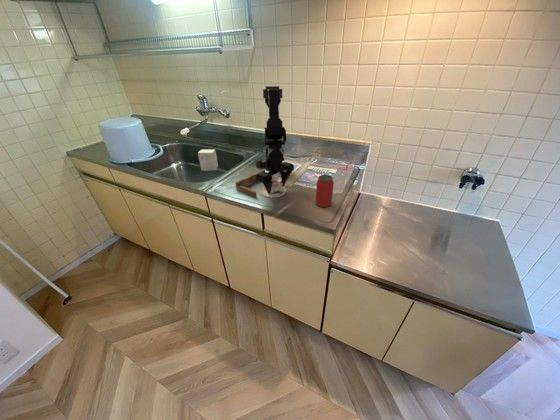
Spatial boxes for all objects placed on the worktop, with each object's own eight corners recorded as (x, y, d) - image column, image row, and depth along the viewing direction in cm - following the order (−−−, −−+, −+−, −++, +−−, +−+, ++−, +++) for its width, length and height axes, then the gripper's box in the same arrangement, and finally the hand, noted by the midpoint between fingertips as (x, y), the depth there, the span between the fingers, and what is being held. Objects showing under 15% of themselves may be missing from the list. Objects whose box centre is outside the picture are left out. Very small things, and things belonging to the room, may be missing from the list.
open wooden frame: (263, 176, 126) (263, 169, 124) (281, 183, 119) (281, 175, 117) (236, 189, 114) (235, 181, 112) (254, 197, 107) (253, 189, 105)
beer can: (313, 200, 105) (315, 174, 98) (328, 199, 105) (331, 173, 99) (317, 208, 99) (319, 181, 93) (333, 207, 100) (336, 180, 93)
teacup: (255, 196, 109) (254, 183, 106) (265, 184, 119) (264, 172, 115) (281, 200, 106) (281, 187, 102) (289, 187, 115) (289, 175, 112)
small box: (218, 167, 137) (215, 149, 131) (215, 171, 132) (212, 152, 127) (204, 167, 138) (201, 149, 132) (201, 171, 133) (197, 152, 127)
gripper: (275, 146, 111) (276, 178, 119) (245, 157, 99) (248, 191, 107) (295, 151, 105) (294, 184, 113) (264, 164, 93) (266, 199, 101)
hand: (276, 189), depth 109 cm, fingers open, 9 cm apart
